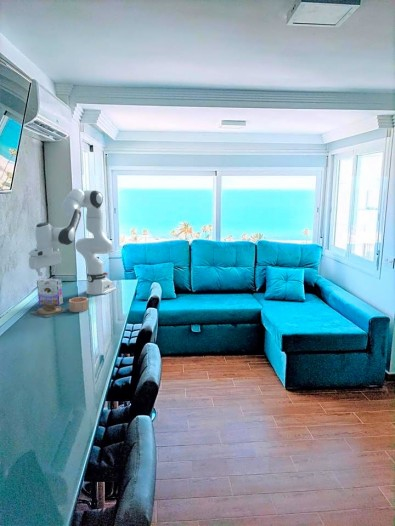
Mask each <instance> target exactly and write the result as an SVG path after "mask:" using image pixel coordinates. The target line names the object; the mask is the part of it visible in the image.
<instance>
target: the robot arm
mask: <svg viewBox="0 0 395 526" xmlns="http://www.w3.org/2000/svg"><path fill="white" fill-rule="evenodd" d="M103 201H104V196H103V194H102V192H101V191H99V190H87V189H86V190H82V189H80V188H73V189H71V190H70V191H69V193H68V194H67V195H66V196H65V198H64V200H63V201H62V203H61V206H60V207H61V210H62V211H61V212H63V214H64V215H66V216H67V218H68V217H69V221H68V223H67V225H66V226H63V227H55V226H53V225H51V223H49V222H40V223H37V224H36V226H35V232H34V234H35V241H36V244H35V245H36V247H35V248H34V249H32V250H30V251H29V252H28V255H29V257H28V266H29V269H30V270H35V272H37V275H38V276H39V277H41V276H42V275H43V272H41V269H42V268H46V267H50V266H51V267H52V268H51V270H50V271H51V273H56V269H57V267H58V266H57V265H61V263H62V256H61V251H60V249H59V248H54V247H53V244H58V245H59V244H61V245H67V246H69V245H71V244H72V243H73V242H74V241H75V237H76V233H77V230H78V227H79V223H80V221H81V217H82V212H81V208H86V214H85V215H86V216H85V217H86V219H85V228H86V230H87V232H89V233H90V234H92V235H93V237H83V238H79V239H77V241H76V243H75V248H76V249H75V250H76V251H77V252H78V253H79V254H80V255H81V256H82V257H83V258H84V260H85V263H86V271H87V272H86V279H87V281H86V291H85V293H86V294H87V295H91V296H93V295H94V296H95V295H107V294H109V293H111V292H113V291H115V290H117V286H116V287H115V286H114V284H113V281H112V280H110V278H108V277H106V276H108V275H109V273H108V272H106V271H105V272H104V262H103V260H102V259H100V258H98V257H97V255H105V254H110V253H111V252H112V250H113V242H112V241H111V239H109V237H107V236H106V233H105V231H104V225H103V224H104V223H103V222H104V221H103V218H104V217H103V207H102V203H104V202H103Z"/></svg>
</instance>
